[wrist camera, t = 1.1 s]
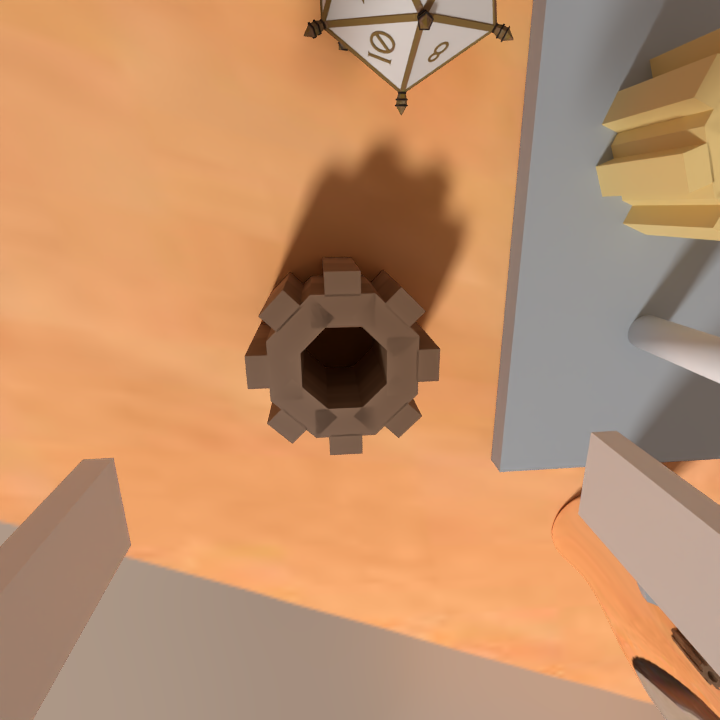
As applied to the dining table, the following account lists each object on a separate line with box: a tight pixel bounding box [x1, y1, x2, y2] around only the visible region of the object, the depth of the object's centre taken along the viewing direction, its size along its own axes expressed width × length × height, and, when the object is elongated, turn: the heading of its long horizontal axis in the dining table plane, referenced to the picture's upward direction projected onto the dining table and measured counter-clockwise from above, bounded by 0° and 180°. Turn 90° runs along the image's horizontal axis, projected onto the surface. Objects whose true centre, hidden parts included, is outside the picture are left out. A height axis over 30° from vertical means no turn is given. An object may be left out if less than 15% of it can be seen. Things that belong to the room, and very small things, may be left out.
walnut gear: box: [245, 257, 440, 455], centre depth 24 cm, size 9×9×6 cm
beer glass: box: [552, 496, 720, 720], centre depth 26 cm, size 7×7×15 cm
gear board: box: [491, 0, 720, 472], centre depth 23 cm, size 28×16×8 cm, turn 1°
